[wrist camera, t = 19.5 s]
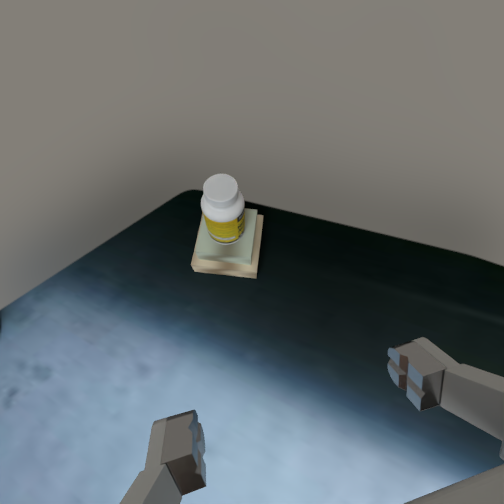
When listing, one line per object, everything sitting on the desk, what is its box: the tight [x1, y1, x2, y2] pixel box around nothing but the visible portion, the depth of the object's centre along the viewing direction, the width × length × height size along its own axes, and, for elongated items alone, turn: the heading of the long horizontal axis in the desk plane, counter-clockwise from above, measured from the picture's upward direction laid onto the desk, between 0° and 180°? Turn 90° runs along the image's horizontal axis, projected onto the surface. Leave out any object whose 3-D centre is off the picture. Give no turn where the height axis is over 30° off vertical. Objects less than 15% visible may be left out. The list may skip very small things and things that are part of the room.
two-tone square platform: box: [191, 208, 263, 278], centre depth 41 cm, size 10×10×6 cm
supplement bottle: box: [201, 174, 245, 245], centre depth 34 cm, size 5×5×10 cm
